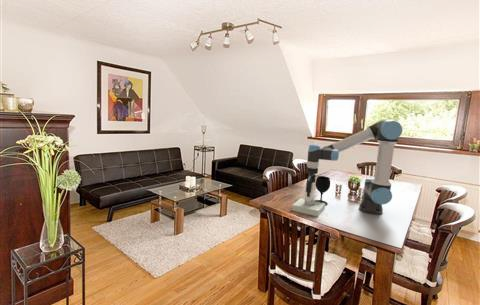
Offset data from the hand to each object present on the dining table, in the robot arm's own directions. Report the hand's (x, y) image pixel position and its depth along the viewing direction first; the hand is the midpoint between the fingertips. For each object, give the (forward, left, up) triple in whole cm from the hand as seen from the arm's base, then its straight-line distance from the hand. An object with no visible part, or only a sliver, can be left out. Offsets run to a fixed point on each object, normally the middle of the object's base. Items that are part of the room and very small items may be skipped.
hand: (309, 199), depth 181 cm
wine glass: (-4, -19, -7) cm, 21 cm away
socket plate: (0, 0, -7) cm, 7 cm away
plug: (0, 0, -4) cm, 4 cm away
